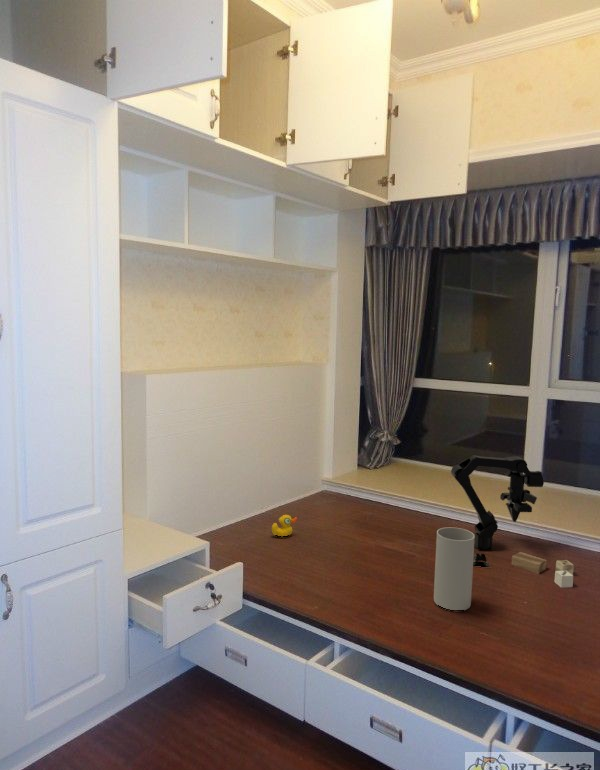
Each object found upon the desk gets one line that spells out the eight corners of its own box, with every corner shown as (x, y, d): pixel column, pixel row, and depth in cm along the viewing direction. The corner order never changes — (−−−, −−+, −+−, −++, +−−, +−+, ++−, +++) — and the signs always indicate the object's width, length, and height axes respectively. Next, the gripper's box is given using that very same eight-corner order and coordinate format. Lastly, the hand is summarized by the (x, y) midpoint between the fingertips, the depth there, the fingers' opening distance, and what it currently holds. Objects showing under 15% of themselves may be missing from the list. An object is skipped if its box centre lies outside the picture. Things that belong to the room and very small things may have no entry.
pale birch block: (562, 576, 222) (563, 565, 221) (555, 571, 226) (556, 560, 226) (572, 576, 223) (573, 564, 222) (566, 571, 227) (566, 559, 226)
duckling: (295, 533, 260) (295, 512, 259) (297, 538, 255) (298, 516, 254) (270, 535, 258) (270, 513, 257) (272, 539, 253) (272, 517, 252)
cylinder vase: (464, 616, 190) (468, 543, 187) (428, 605, 196) (431, 535, 194) (474, 600, 200) (478, 532, 198) (440, 591, 207) (443, 524, 204)
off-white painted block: (561, 587, 212) (562, 575, 212) (554, 582, 217) (555, 570, 216) (572, 587, 213) (573, 575, 212) (565, 581, 217) (566, 570, 217)
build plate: (494, 563, 234) (495, 553, 233) (497, 571, 227) (498, 560, 226) (462, 561, 236) (463, 550, 235) (465, 568, 228) (466, 557, 228)
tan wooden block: (538, 574, 224) (538, 564, 223) (511, 565, 231) (511, 556, 231) (545, 569, 228) (546, 560, 228) (519, 561, 236) (519, 551, 236)
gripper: (545, 492, 236) (542, 529, 238) (525, 480, 255) (522, 514, 256) (519, 492, 235) (516, 529, 237) (500, 480, 254) (498, 514, 256)
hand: (514, 521), depth 247 cm, fingers closed
